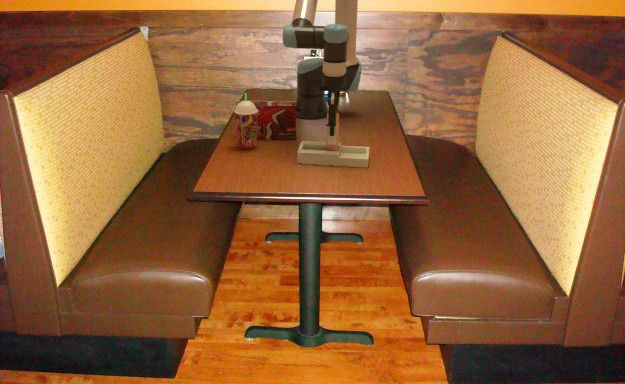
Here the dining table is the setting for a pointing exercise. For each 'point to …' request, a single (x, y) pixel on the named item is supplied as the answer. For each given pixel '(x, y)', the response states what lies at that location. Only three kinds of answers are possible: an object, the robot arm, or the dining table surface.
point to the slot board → (343, 160)
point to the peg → (335, 147)
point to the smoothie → (246, 124)
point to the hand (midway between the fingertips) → (332, 141)
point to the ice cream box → (276, 120)
